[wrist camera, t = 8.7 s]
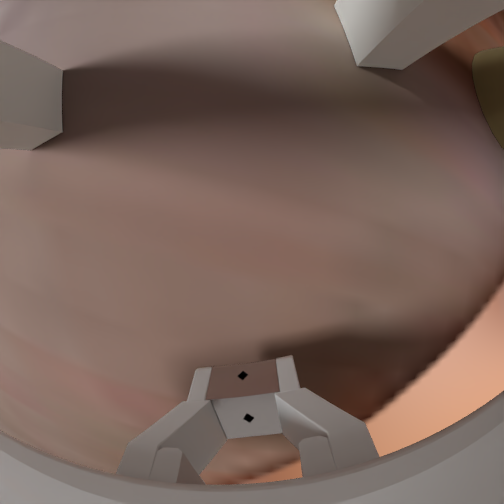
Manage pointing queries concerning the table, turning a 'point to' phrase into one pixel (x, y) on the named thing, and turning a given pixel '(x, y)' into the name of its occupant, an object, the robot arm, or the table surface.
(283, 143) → the table surface
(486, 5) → the bridge
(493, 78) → the olive tall rounded piece
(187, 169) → the table surface
